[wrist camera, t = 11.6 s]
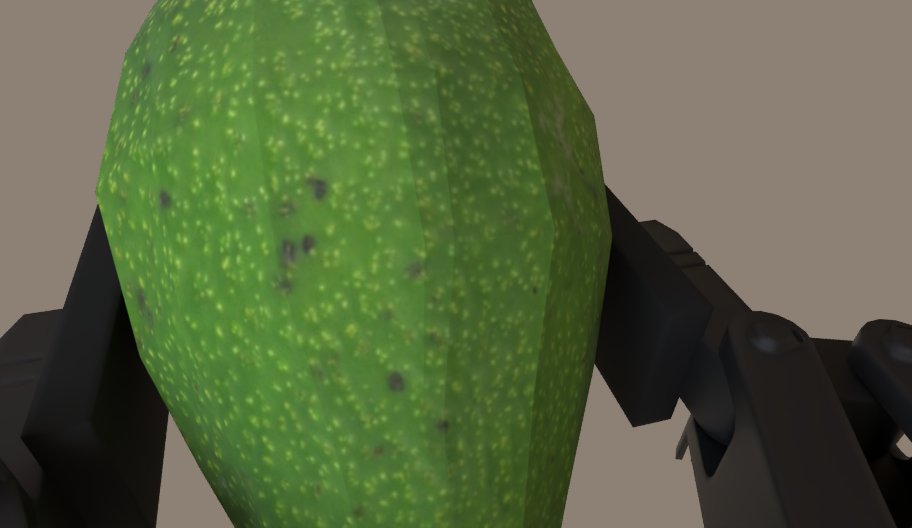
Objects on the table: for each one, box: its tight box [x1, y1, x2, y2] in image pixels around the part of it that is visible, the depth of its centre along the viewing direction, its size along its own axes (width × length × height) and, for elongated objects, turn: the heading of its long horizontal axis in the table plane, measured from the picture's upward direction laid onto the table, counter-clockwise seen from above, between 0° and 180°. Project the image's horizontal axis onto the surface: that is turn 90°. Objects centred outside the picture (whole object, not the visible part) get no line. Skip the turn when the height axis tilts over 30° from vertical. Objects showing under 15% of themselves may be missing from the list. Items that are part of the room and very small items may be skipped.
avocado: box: [95, 0, 612, 528], centre depth 10 cm, size 8×8×12 cm
